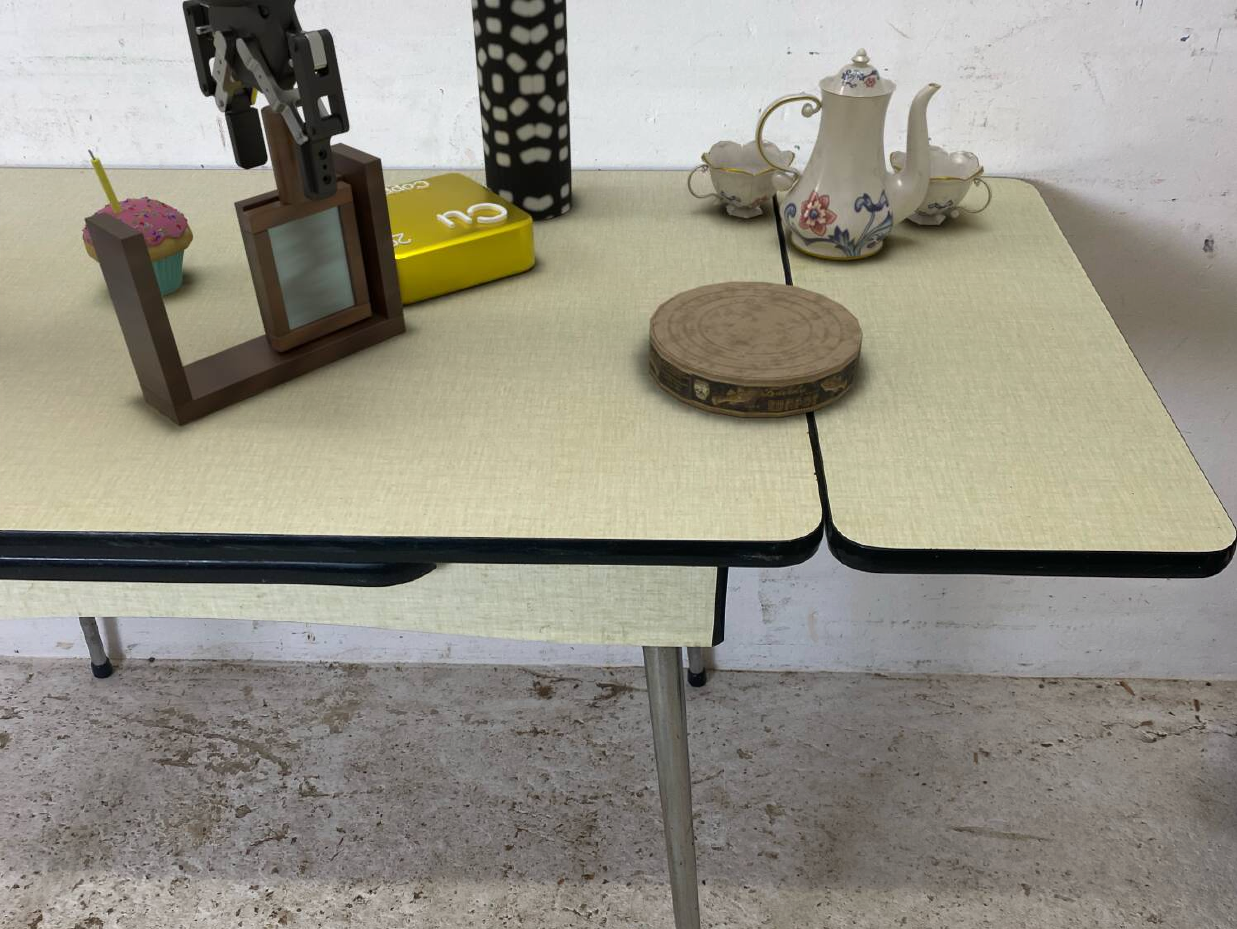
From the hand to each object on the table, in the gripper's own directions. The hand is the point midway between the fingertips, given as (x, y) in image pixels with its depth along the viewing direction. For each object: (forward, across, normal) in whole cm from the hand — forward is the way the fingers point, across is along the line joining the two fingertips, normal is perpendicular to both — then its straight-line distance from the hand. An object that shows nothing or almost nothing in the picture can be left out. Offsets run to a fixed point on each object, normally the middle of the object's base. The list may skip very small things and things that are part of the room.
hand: (286, 181), depth 75 cm
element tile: (+14, -8, +17) cm, 23 cm away
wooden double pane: (+13, -1, -3) cm, 14 cm away
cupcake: (+14, -21, -3) cm, 25 cm away
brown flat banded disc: (+13, +25, +22) cm, 36 cm away
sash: (+12, 0, 0) cm, 12 cm away
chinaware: (+13, +14, +48) cm, 52 cm away
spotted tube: (+14, -11, +32) cm, 36 cm away
